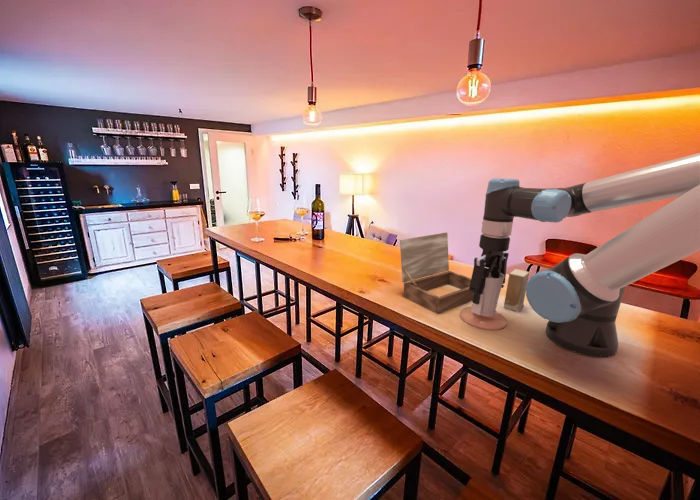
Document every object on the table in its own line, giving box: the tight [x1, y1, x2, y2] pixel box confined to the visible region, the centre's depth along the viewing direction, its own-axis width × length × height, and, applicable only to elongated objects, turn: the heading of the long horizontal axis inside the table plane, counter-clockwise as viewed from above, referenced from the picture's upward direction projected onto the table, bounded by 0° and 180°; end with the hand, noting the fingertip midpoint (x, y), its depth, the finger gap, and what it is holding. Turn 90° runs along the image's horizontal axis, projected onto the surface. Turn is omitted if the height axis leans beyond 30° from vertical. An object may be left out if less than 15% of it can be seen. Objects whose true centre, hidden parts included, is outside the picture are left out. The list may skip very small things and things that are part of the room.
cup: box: [473, 272, 506, 316], centre depth 86 cm, size 8×8×12 cm
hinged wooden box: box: [399, 232, 473, 315], centre depth 103 cm, size 19×24×20 cm
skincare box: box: [503, 268, 530, 313], centre depth 95 cm, size 6×4×12 cm
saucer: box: [459, 306, 508, 331], centre depth 89 cm, size 13×13×1 cm
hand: (483, 309), depth 88 cm, fingers closed on cup, 7 cm apart
